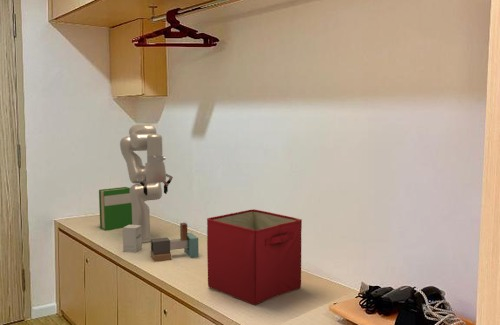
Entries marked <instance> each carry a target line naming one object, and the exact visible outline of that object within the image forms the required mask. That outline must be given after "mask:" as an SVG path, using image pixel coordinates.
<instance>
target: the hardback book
mask: <svg viewBox="0 0 500 325" xmlns="http://www.w3.org/2000/svg"><path fill="white" fill-rule="evenodd" d="M98 203H99V204H98V205H99V207H98V208H99V229H100V230H104V231H105V232H107V231H112V230H118V229H123V227H125V226H127V225H132V205H131V198H130V187H128V186H121V187H113V188H104V189H98Z"/></svg>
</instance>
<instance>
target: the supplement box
mask: <svg viewBox="0 0 500 325" xmlns="http://www.w3.org/2000/svg"><path fill="white" fill-rule="evenodd" d="M142 244H143V243H142V234H141V225H127V226H125V227H123V228H122V252H126V253H137V252H138V251H140V250H142V248H143V247H142V246H143V245H142Z"/></svg>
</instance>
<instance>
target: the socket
mask: <svg viewBox="0 0 500 325" xmlns="http://www.w3.org/2000/svg"><path fill="white" fill-rule="evenodd" d="M187 236H188V239H189V248H185V249H184V250H183V251H184V253H185V254H186V255H187V256H188V257H189V258H190V259H197V258H199V237H197V236H196V235H195V234H194V233H192V232H187Z"/></svg>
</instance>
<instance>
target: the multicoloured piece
mask: <svg viewBox="0 0 500 325" xmlns="http://www.w3.org/2000/svg"><path fill="white" fill-rule="evenodd" d="M179 224H180V225H179V228H180V230H179V231H180V232H179V233H180V235H179V236H180V238H175V239H169V240H170V251H173V250H174V251H175V250H182V249H185V248H189V239H188V236H187V233H188V224H187V222H179Z"/></svg>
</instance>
